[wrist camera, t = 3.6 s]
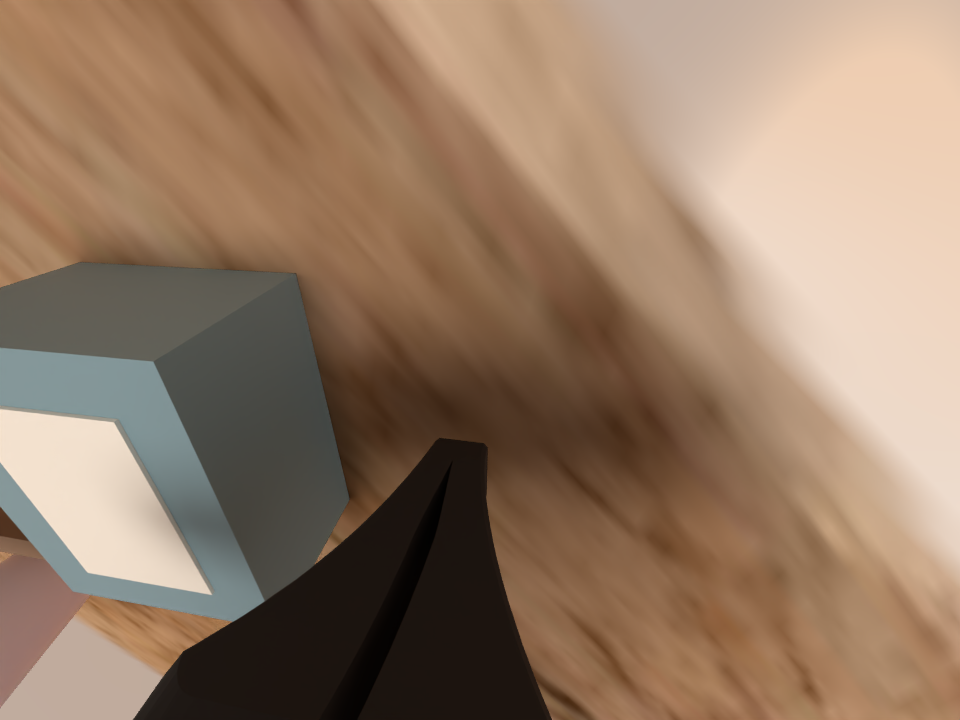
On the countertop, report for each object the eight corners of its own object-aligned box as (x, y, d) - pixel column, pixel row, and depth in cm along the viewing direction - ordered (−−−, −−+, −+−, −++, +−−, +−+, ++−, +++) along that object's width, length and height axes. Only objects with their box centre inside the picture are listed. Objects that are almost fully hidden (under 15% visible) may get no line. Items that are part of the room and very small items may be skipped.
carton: (351, 495, 16) (276, 633, 12) (191, 474, 17) (69, 594, 13) (299, 270, 12) (148, 364, 8) (87, 260, 13) (-154, 336, 9)
